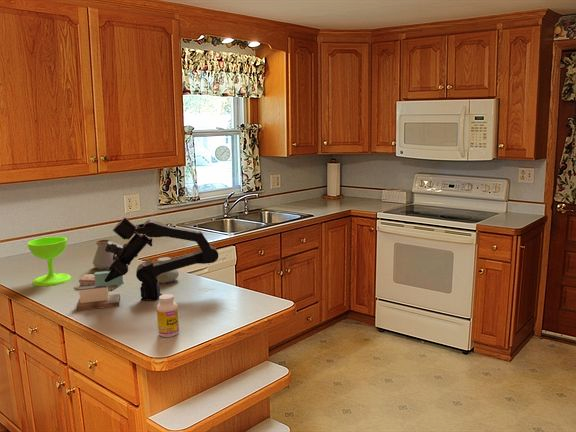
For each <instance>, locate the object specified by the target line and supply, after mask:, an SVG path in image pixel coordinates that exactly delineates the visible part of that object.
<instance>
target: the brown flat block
mask: <svg viewBox="0 0 576 432" xmlns="http://www.w3.org/2000/svg"><path fill="white" fill-rule="evenodd" d="M108 296H109V299H108V300H104V301H95V302H86V303H80V298H79V299H78V301H77V304H76V311H85V310H93V309H94V310H95V309H103V307H104V308H111V307H112V306H113V307H119V306H120V301H121V294H120V293H116V294H115V293H114V294H113V293H112V294H108Z"/></svg>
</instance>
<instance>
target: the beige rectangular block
mask: <svg viewBox="0 0 576 432" xmlns="http://www.w3.org/2000/svg"><path fill="white" fill-rule="evenodd" d="M78 293H79V299H80V303H86V302H95V301H104V300H108V299H109V296H108V295H109V290H108V286H98V287H96V286H86V287H80V288H79V289H78Z"/></svg>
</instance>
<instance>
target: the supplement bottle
mask: <svg viewBox="0 0 576 432" xmlns="http://www.w3.org/2000/svg"><path fill="white" fill-rule="evenodd" d="M174 297H175V296H174V295H173V294H171V293H165V294H162V295H161V296H159V299H158V301H159V303H158V304H157V306H156V316H157V317H156V318H157V331H158V336H160V337H162V338H171V337H174V336H177V335H178V334H179V333H180V326H179V324H180V322H179V309H178V307H179V306H178V304H177V302H175V301H174V300H175V298H174Z"/></svg>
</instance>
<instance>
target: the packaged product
mask: <svg viewBox="0 0 576 432" xmlns="http://www.w3.org/2000/svg"><path fill="white" fill-rule="evenodd" d="M94 274H95V273H92V274H90V273H88V274H85V273H84V274H82V276H80V278H79V280H78V284H76V285H74V286H73V289H74V290H79V288H80V287H86V286H95V276H94ZM124 283H125V282H124V281H123V284H124ZM107 286H108V291H115V289H118V288H119V287H120V286H122V285H121V284H117V285H107ZM118 286H119V287H118Z"/></svg>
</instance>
